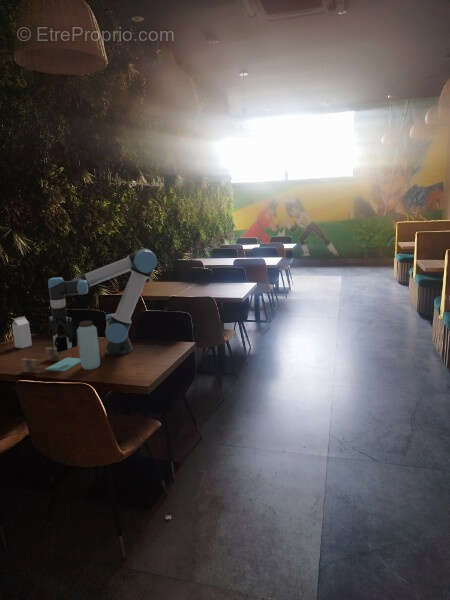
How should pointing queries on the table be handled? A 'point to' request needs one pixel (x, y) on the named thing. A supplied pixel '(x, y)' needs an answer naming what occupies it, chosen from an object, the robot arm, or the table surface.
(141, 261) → the robot arm
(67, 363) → the mat
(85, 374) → the table surface
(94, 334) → the water bottle
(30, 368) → the slot block
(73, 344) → the camera
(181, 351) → the table surface
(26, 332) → the milk carton
